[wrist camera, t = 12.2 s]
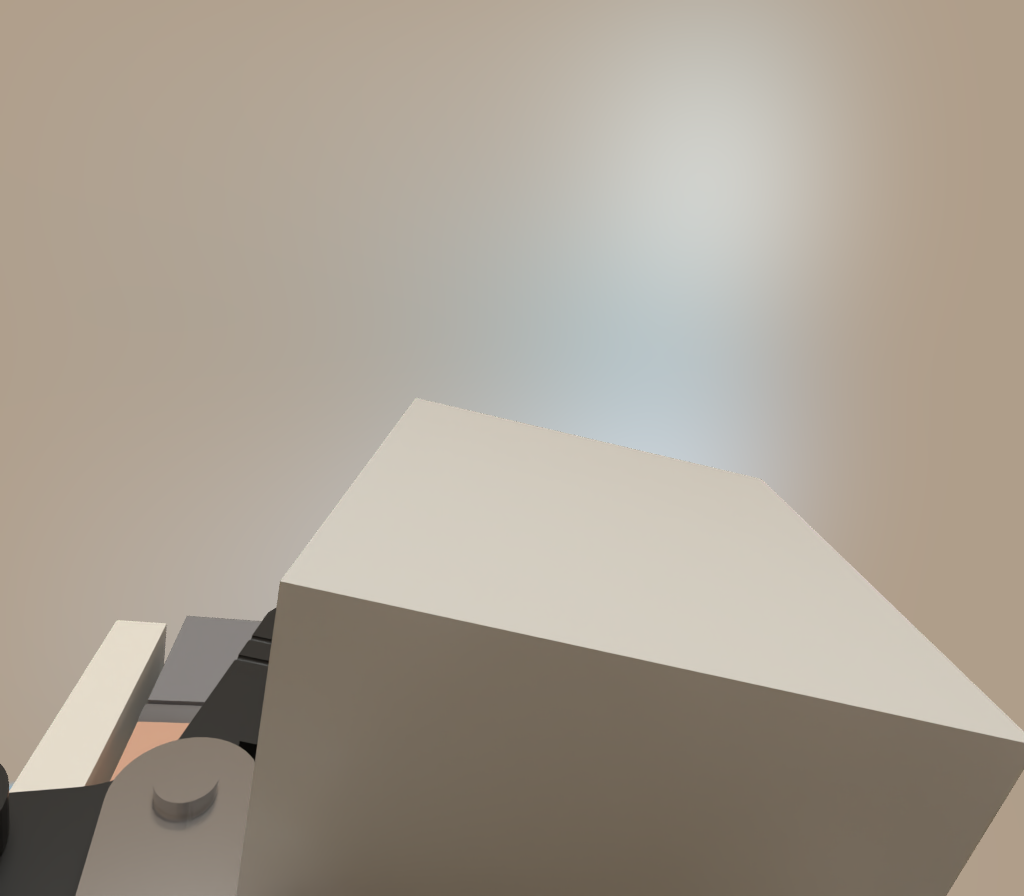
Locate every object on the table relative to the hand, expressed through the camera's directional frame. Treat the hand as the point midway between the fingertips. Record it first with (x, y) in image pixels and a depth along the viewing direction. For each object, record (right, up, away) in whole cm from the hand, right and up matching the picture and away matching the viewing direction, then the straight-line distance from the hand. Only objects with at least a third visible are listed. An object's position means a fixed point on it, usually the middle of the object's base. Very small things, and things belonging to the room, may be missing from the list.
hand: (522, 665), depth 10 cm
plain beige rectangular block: (-1, -6, -1) cm, 7 cm away
